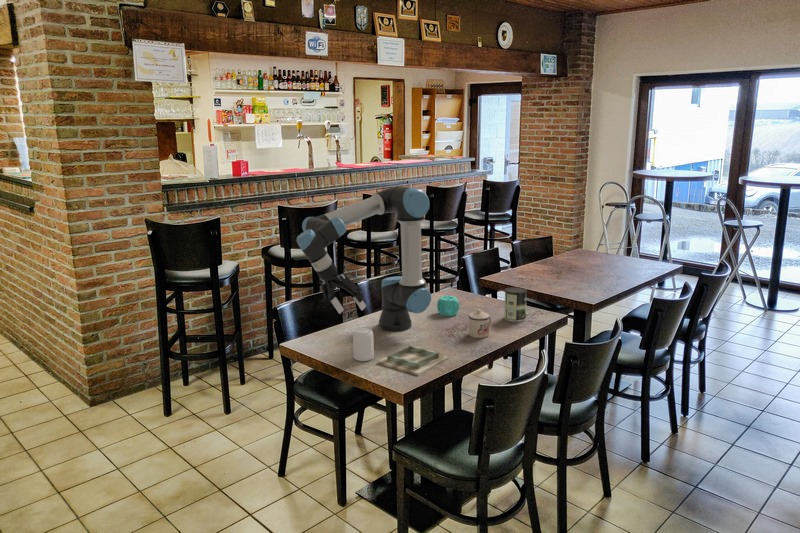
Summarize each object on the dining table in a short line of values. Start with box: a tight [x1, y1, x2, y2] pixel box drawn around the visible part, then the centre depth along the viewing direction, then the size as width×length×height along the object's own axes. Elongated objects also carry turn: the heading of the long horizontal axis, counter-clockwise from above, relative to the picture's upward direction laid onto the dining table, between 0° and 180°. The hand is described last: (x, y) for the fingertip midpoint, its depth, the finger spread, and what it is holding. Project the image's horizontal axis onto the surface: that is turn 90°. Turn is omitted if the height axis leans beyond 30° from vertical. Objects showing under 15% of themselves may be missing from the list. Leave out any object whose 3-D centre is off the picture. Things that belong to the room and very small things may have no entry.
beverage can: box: [352, 326, 375, 362], centre depth 243 cm, size 8×8×12 cm
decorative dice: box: [436, 295, 460, 317], centre depth 297 cm, size 8×8×8 cm
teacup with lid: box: [468, 308, 492, 339], centre depth 268 cm, size 12×9×12 cm
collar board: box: [377, 344, 449, 377], centre depth 240 cm, size 20×20×3 cm
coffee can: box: [503, 286, 528, 323], centre depth 288 cm, size 10×10×14 cm
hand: (352, 310), depth 243 cm, fingers open, 13 cm apart
